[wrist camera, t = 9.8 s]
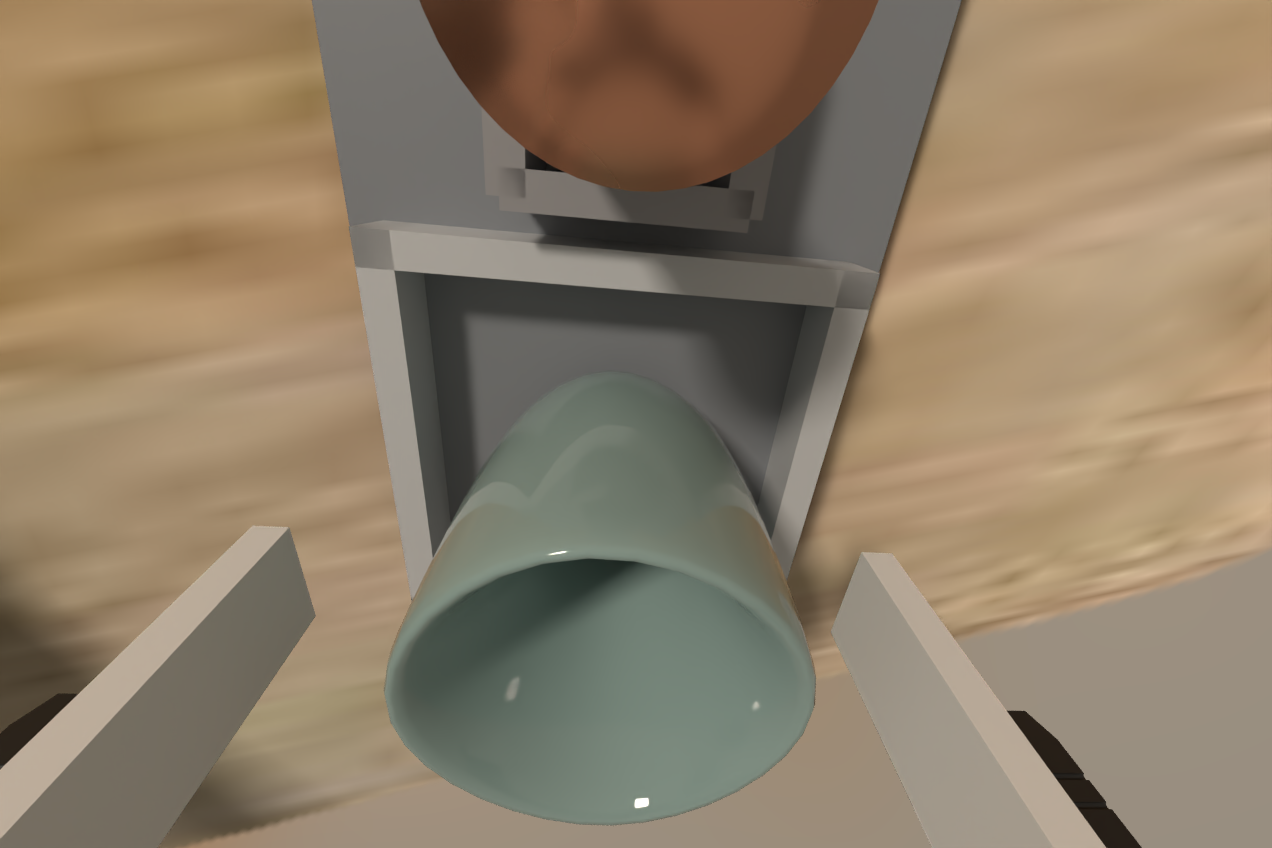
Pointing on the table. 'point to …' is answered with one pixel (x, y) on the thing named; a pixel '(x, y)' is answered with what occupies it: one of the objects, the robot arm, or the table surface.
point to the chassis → (611, 262)
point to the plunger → (648, 78)
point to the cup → (603, 618)
